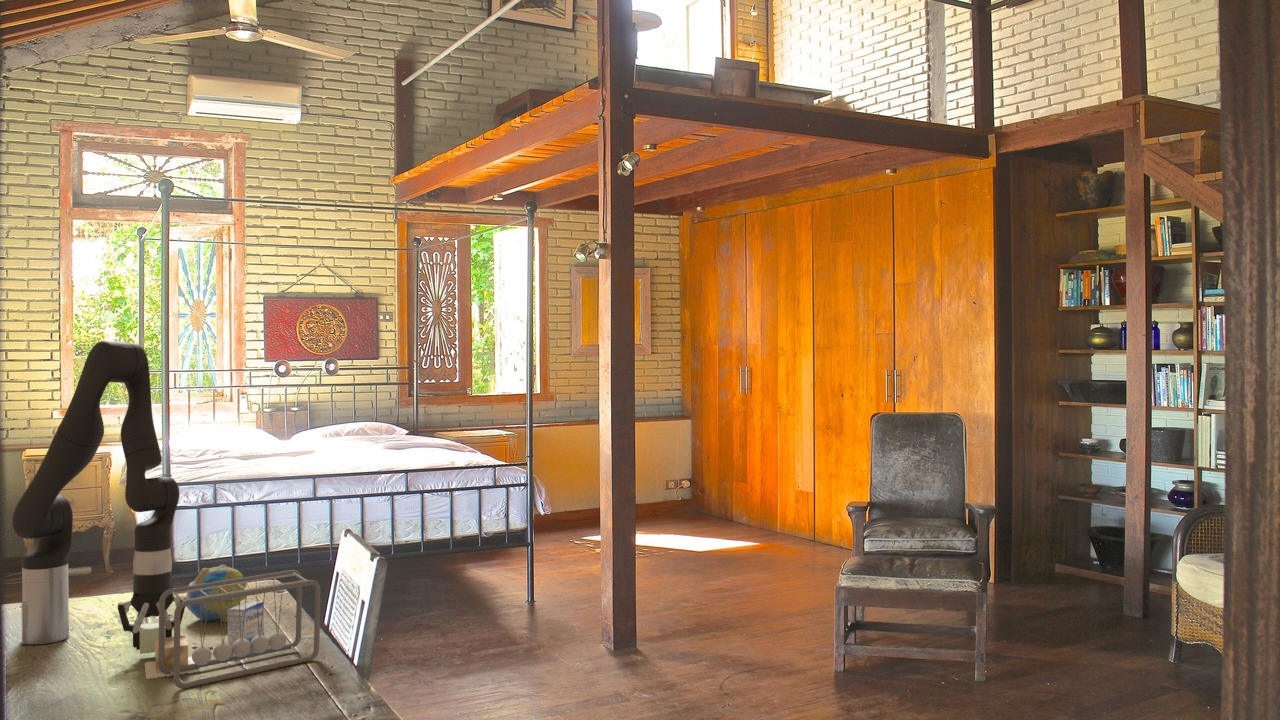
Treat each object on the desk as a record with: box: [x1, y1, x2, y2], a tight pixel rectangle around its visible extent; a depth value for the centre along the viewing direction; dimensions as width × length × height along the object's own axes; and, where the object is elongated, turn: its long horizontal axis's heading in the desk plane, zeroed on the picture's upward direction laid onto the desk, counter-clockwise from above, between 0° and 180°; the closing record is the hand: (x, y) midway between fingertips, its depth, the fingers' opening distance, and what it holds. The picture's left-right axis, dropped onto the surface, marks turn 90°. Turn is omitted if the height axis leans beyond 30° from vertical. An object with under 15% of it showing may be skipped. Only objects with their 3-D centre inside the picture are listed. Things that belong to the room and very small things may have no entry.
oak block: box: [154, 635, 189, 673], centre depth 214 cm, size 6×8×5 cm
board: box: [144, 656, 200, 680], centre depth 214 cm, size 10×10×1 cm
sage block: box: [139, 622, 159, 655], centre depth 221 cm, size 5×5×5 cm
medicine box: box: [227, 600, 265, 647], centre depth 232 cm, size 8×4×9 cm, turn 168°
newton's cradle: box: [158, 569, 322, 689], centre depth 213 cm, size 30×10×18 cm, turn 132°
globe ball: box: [185, 564, 248, 624], centre depth 252 cm, size 14×16×15 cm
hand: (152, 646), depth 221 cm, fingers closed on sage block, 5 cm apart
